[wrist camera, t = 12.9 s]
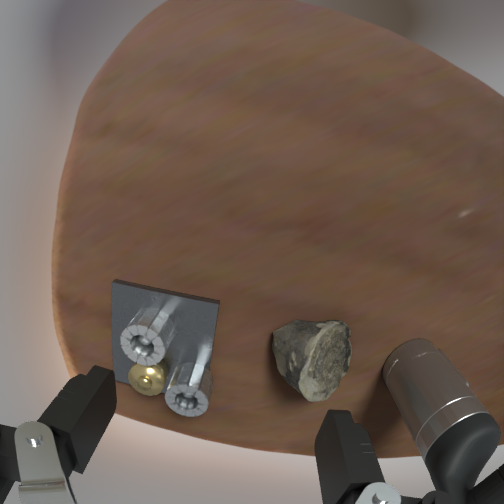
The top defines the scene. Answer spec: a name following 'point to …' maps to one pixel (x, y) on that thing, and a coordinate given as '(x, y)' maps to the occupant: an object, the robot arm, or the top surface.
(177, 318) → the carrier
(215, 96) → the top surface
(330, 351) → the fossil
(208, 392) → the grey hollow pipe
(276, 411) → the top surface
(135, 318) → the planet gear
